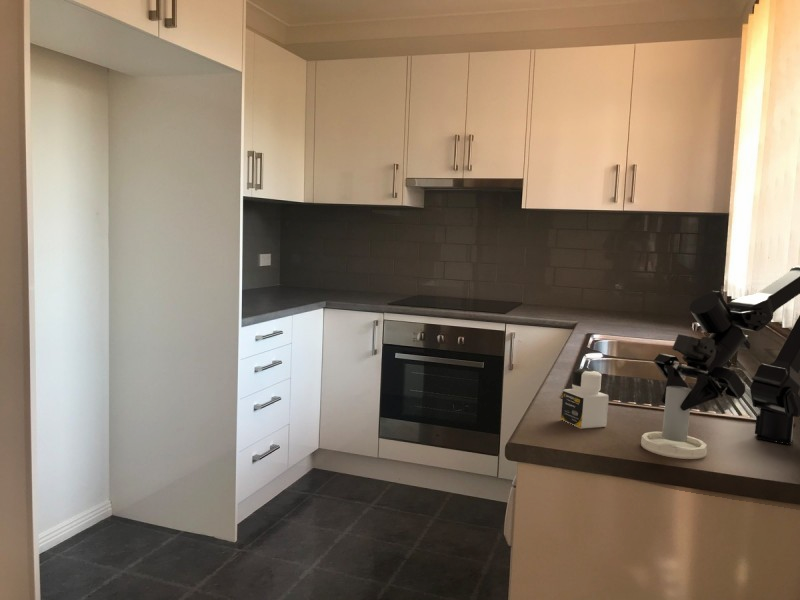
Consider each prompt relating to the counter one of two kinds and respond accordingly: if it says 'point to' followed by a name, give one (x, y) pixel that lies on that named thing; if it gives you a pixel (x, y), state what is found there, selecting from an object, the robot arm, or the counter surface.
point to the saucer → (674, 446)
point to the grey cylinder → (675, 414)
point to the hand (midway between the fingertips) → (672, 405)
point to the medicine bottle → (585, 401)
